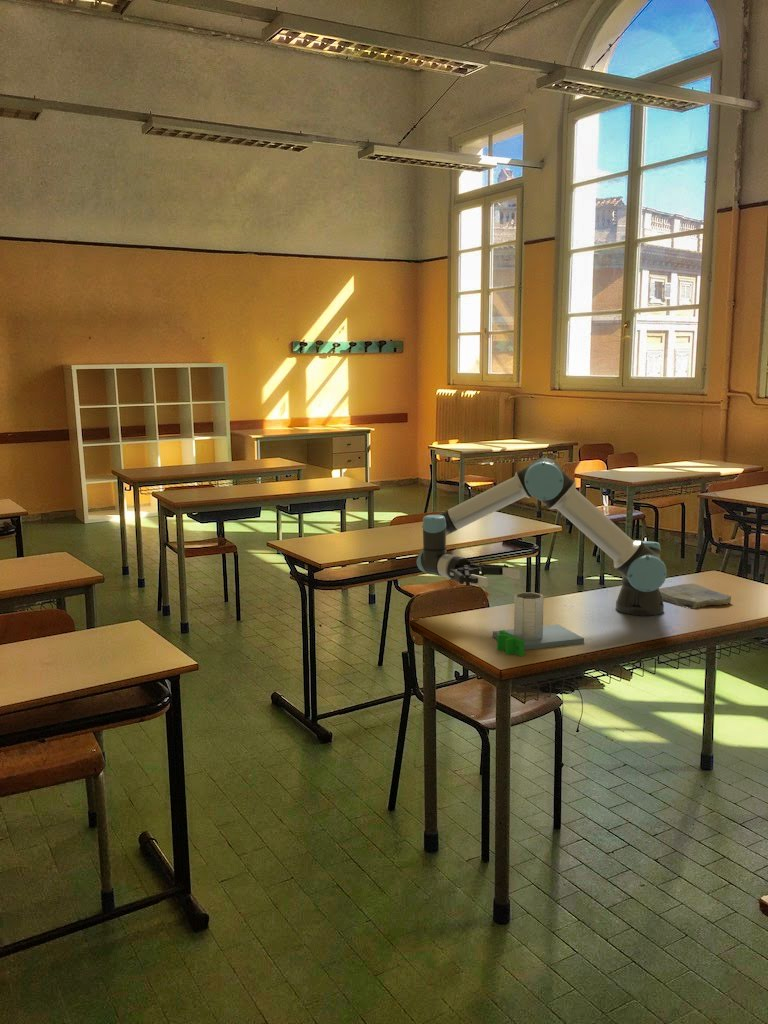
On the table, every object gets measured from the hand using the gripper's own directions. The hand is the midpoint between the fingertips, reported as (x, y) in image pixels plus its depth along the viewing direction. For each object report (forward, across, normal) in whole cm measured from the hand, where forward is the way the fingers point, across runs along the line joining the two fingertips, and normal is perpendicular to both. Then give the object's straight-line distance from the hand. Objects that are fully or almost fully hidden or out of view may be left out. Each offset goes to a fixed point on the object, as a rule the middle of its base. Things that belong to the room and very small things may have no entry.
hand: (503, 578), depth 256 cm
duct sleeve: (+10, 0, -16) cm, 18 cm away
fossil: (+14, -77, -19) cm, 81 cm away
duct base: (+11, -3, -17) cm, 20 cm away
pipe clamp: (+13, +11, -17) cm, 24 cm away
